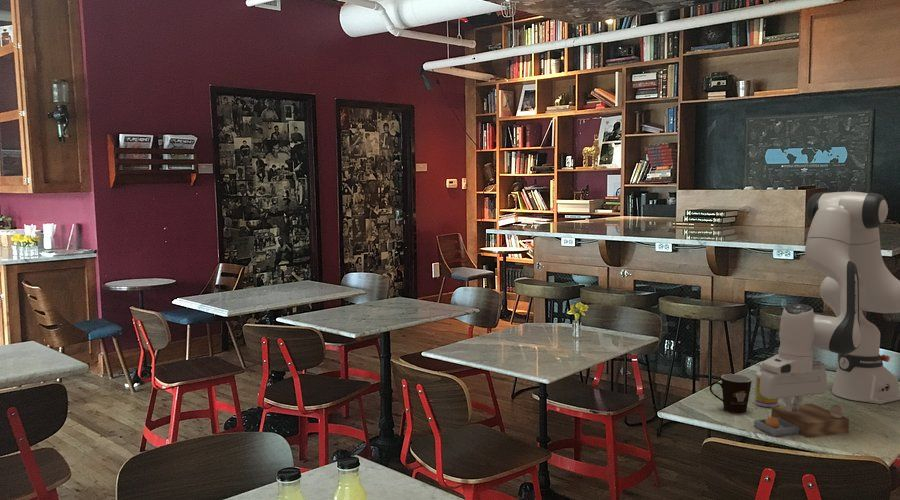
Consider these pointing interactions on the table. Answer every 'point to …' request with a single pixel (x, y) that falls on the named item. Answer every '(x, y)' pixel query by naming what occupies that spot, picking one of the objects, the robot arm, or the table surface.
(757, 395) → the supplement bottle
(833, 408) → the cream ball
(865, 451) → the table surface
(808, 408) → the wooden cutting board
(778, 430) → the dish
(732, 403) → the coffee mug
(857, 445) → the table surface
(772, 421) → the ball
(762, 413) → the table surface
